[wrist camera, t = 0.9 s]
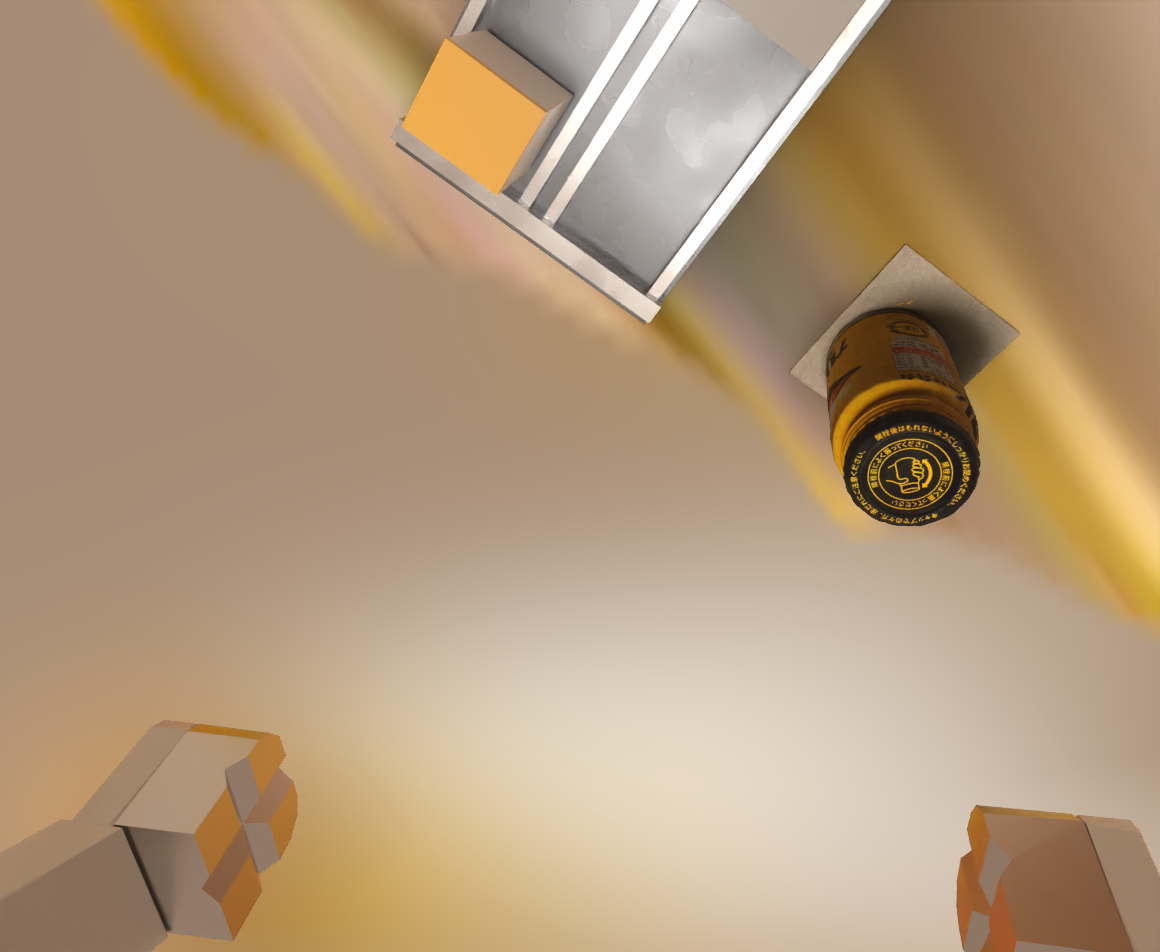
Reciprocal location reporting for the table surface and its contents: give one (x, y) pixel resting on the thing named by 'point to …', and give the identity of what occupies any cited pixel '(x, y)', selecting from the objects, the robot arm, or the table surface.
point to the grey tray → (642, 130)
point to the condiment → (906, 390)
